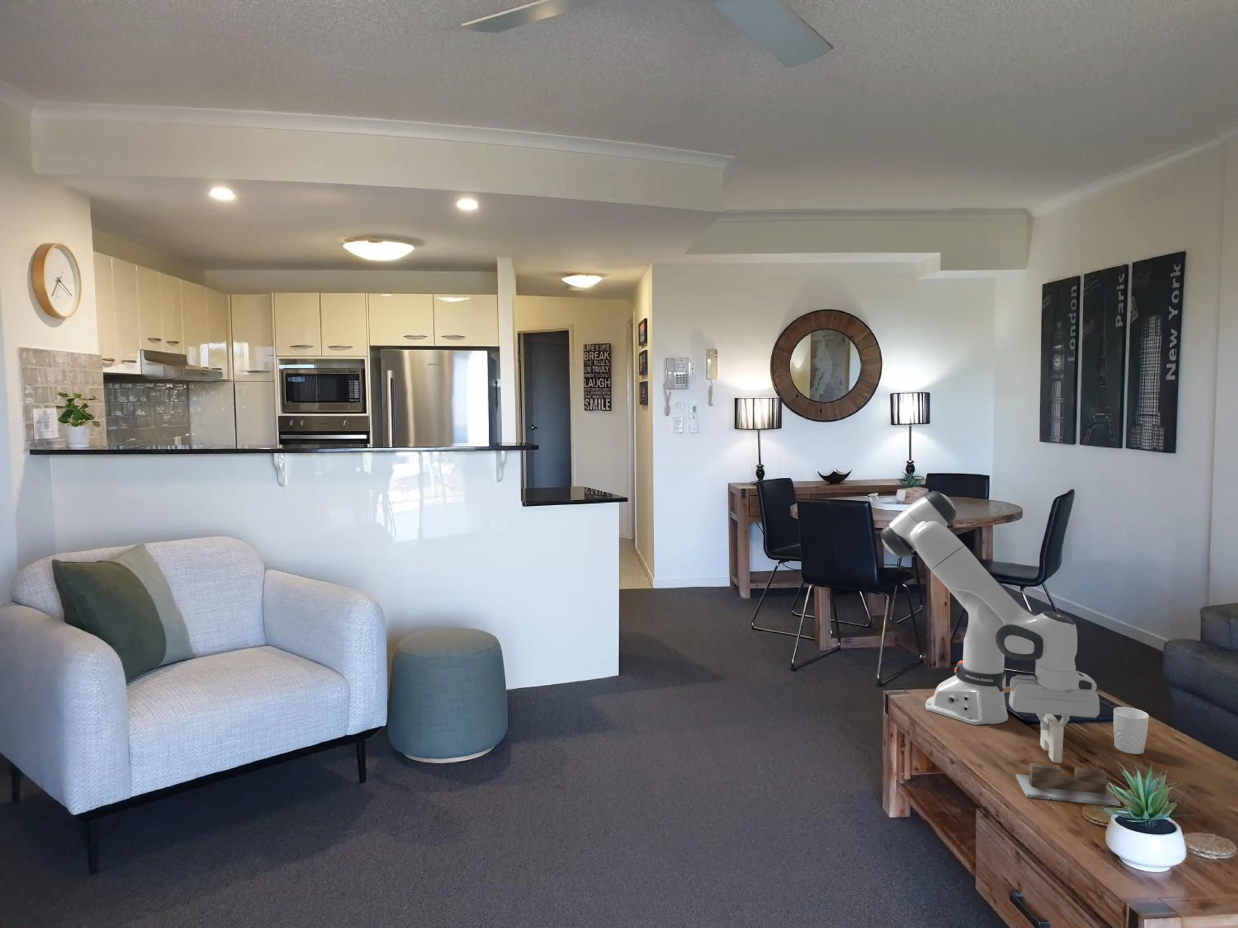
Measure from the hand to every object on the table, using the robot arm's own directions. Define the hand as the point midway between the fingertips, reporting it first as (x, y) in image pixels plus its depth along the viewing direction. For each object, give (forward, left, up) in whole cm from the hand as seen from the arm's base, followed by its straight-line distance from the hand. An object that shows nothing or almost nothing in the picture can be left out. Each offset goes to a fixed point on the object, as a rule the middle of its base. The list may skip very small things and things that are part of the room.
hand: (1051, 729), depth 201 cm
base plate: (+6, -12, -10) cm, 16 cm away
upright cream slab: (0, 0, -6) cm, 6 cm away
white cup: (+15, +24, -10) cm, 30 cm away
